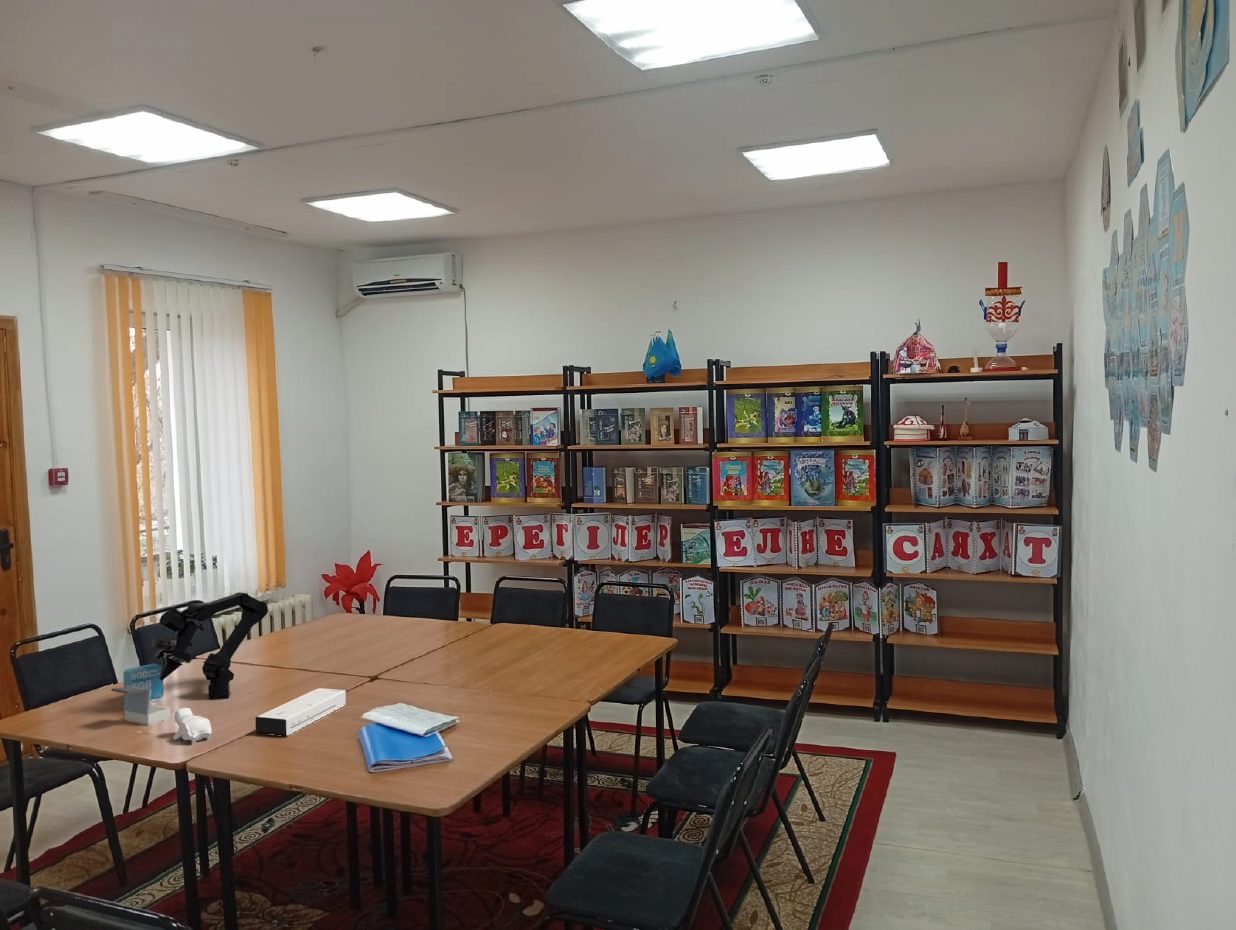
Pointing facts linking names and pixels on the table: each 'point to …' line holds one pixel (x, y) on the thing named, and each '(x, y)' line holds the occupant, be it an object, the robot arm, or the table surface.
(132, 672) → the data package
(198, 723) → the white animal figurine
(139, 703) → the carton lid
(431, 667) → the table surface
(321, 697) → the laminator
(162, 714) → the carton
